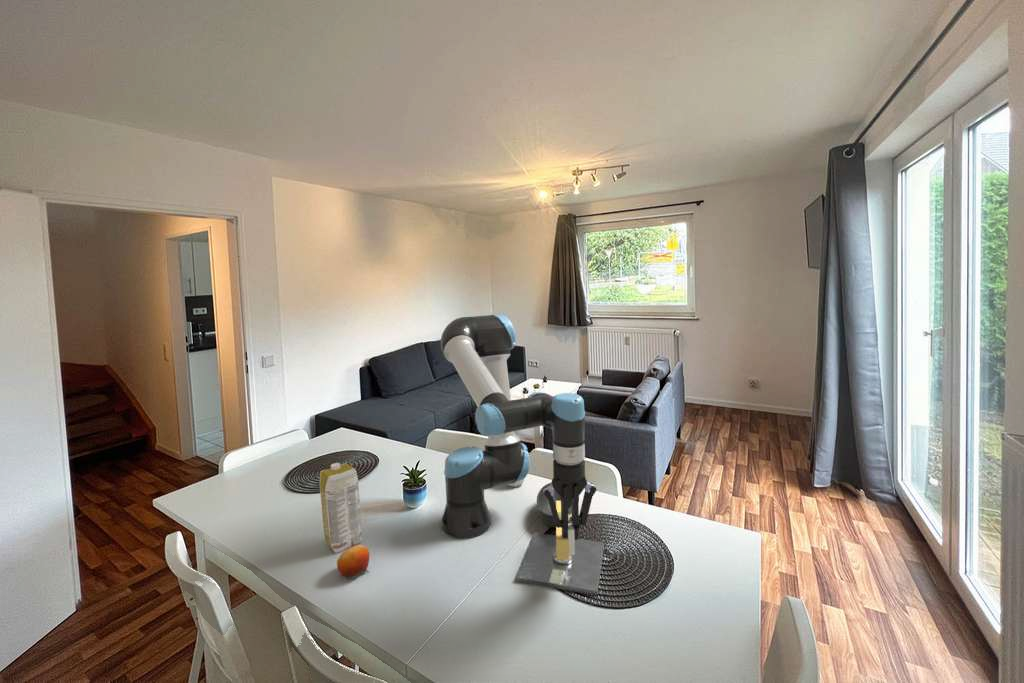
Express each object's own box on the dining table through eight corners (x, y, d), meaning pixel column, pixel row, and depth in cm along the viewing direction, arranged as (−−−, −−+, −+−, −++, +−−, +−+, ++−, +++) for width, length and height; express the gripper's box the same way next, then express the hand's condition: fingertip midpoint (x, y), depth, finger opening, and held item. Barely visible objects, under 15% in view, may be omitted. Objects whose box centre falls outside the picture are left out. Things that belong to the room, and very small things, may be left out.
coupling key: (554, 517, 123) (554, 497, 122) (568, 517, 123) (568, 498, 122) (554, 559, 104) (554, 536, 103) (571, 559, 104) (570, 537, 103)
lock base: (515, 581, 108) (515, 554, 107) (534, 536, 127) (534, 513, 126) (597, 595, 102) (597, 567, 101) (604, 546, 121) (604, 522, 120)
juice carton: (353, 531, 132) (347, 456, 129) (365, 542, 126) (359, 464, 123) (322, 545, 125) (315, 466, 122) (333, 557, 120) (326, 474, 116)
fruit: (356, 583, 106) (343, 553, 108) (340, 589, 110) (327, 559, 112) (382, 565, 113) (369, 536, 114) (365, 571, 117) (353, 543, 119)
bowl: (576, 499, 148) (576, 482, 147) (573, 537, 126) (573, 517, 125) (541, 497, 150) (541, 480, 149) (532, 533, 128) (532, 514, 128)
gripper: (544, 468, 98) (547, 563, 101) (600, 463, 99) (601, 558, 102) (539, 455, 105) (541, 545, 108) (591, 451, 107) (591, 540, 110)
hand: (570, 551), depth 105 cm, fingers closed
